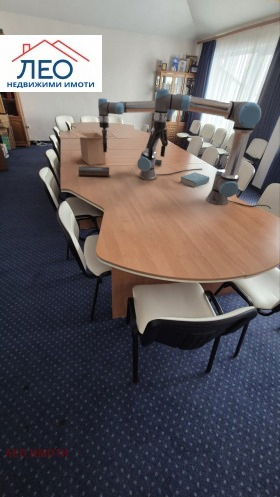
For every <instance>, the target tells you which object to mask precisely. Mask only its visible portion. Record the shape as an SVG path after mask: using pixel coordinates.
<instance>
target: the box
mask: <svg viewBox="0 0 280 497" xmlns="http://www.w3.org/2000/svg"><path fill="white" fill-rule="evenodd" d="M70 133H71V134H72V135H74V136H75V137H77V138H79V144H80V153H81V160H83V162H85V163H86V165H87V166H95V165H97V166H98V165H106V163H107V162H106V158H107V157H106V152H103V144H102V143H103V136H102V131H98V132H96V131H95V130H92V129H91V130H77V132H76V131H70ZM113 137H114V136H113V135H111V134H109V133H107V138H113Z"/></svg>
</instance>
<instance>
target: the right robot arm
mask: <svg viewBox="0 0 280 497" xmlns="http://www.w3.org/2000/svg"><path fill="white" fill-rule="evenodd" d="M154 101H155V112H153V125H152V129H153V128H154V129H155V130H154V131H152V130H151V131H150V133H149V134H150V135H149V137H148V139H147V142H148V143H147V142H146V143H147V144H146V145H147V146H146V145H145V148H148V149H149V151H148V160H151V161H152V156H153V149H152V148H153V146H154V144H155V142H156V140H158V139H159V138H160V142H161V145H160V146H161V147H160V157H161V158H165V154H166V147H168V145H169V142H168V141H169V140H168V134H167V133H168V129H167V124H166V122H165V121H166V120H167V111H168V110H175V111H177V112H179V111H180V112H194V113H199V114H206V115H211V116H217V117H223V118H224V119H225V120H229V121H231V122H233V126H232V130H233V132H234V133H233V137H232V140H231V143H230V144H231V145H230V149H229V153H228V156H227V161H226V164H225V168H224V169H218V170H216V173H215V176H214V180H213V183H212V187H211V190H210V192H208V195H207V196H206V200H207V202H209V203H211V204H212V205H218V206H219V205H220V206H223V205H227V203H228V202H230V203H233V204H237V205H241V206H245V207H249V208H250V207H251V208H252V207H267V208H269V209H270V210H272V208H271V206H269V205H266V204H253V205H248V204H244V203H240V202H237V201H233V200H229V199H228V198H232V197H233V196H235V195H236V194H237V193H238V191H239V184H238V183H239V181H240V175H239V172H240V168H241V165H242V161H243V157H244V155H245V151H246V148H247V144H248V141H249V137H250V135H251V134H252V132H254V130H255V127H256V125H257V124H258V123H259V122H260V120H261V117H262V109H261V107H260V105H258V104H257V103H256V102H253V101H233V100H229V101H222V100H215V99H209V98H204V97H199V96H198V97H197V96H192V95H188V94H181V93H176V94H175V93H171V91H170V89H167V88H166V89H165V88H157V89H156V93H155V99H154Z"/></svg>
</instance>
